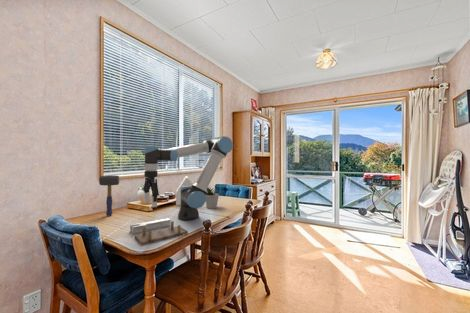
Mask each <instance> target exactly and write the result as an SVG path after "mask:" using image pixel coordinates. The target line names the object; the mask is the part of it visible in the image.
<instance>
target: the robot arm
mask: <svg viewBox="0 0 470 313" xmlns="http://www.w3.org/2000/svg"><path fill="white" fill-rule="evenodd" d="M233 148H234V143H233V141H232V139H231V138H230V137H228V136H224V135H222V136H219V137H213V138H211V139H208V140H207V139H206V140H204V141H202V142H199V143H193V144H187V145H181V146H177V147H175V146H174V147H171V148H159V146H158V145H149V144H148V145H145V147H144V165H143V167H144V185H143V192H144V200H143V202H144V204H149V203H150V190H151V193H152V195H151V208H157V207H158V196H159V195H160V194H159V193H160V192H159V186H158V179H157V177H158V170H159V168H158V167H159V164H158V163H159V162H176V161H178V159H179V158H183V157H188V156H194V155H198V154H203V153H206V154H210V155H209V157H208V159H207V160H206V163H205V165H204V167H203V168H202V170H201V172H200V174H199V176H198V178H197V180H196V181H195V183H192V184H193V185H192V186H184V187H181V191H180V192H181V205H179V206H180V207H179V210H178V212H177V219H178V220H180V221H193V220H194V221H195V220H197V219H199V218H200V216H199V215H200V213H199V210H198V209H200V208H202V207H203V206H204V205H206V194H207V193H208V192H207V188H209V186H210V183H211V181H212V180H213V178H214V176H215V174H216V171H217V170H218V168H219V165H221V164H220V163H221V162H222V160H223V159H225V158H226V157H227V155H228V153H230V152H231V151H232V150H233Z"/></svg>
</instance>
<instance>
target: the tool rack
mask: <svg viewBox="0 0 470 313" xmlns="http://www.w3.org/2000/svg"><path fill="white" fill-rule="evenodd" d="M187 233H188V234H189V231H188V230H187V229H186V228H183V227H182V226H181V225H180V224H178V225H177V226H175V224H174V220H173V221H171V224H170V227H169V228H168V227H167V228H164V229H159V230H155V231H152V230H148V232H147V231H146V227H143V232H141V234H140V233H139V234H135V235H134V239H135V240H136V241H137V242H138V243H139V244H140V246H144V245H149V244H152V243H157V242H160V240H161V241H164V240H168V239H172V237H173V238H177V237H181V236H184V235H183V234H185V235H188V234H187ZM180 235H181V236H180ZM176 236H177V237H176Z"/></svg>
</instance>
